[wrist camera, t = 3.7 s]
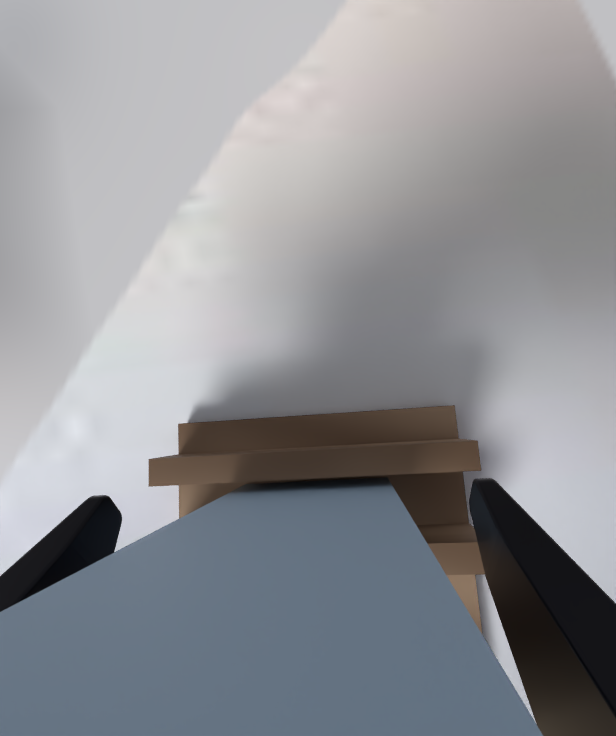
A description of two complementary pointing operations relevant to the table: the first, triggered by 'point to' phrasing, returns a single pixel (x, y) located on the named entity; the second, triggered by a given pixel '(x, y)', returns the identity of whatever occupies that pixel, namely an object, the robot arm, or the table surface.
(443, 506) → the rack
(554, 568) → the robot arm
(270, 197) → the table surface
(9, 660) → the board
